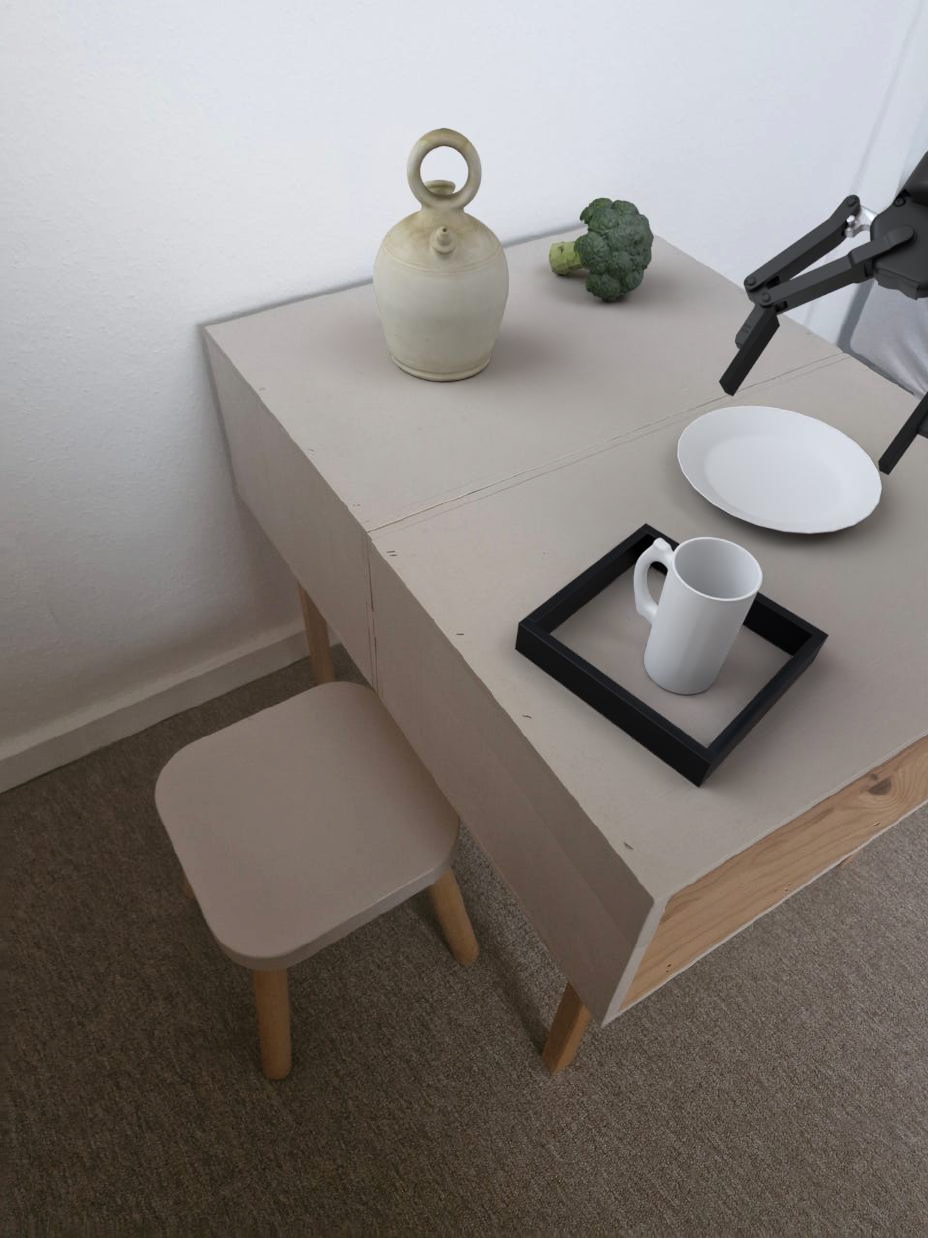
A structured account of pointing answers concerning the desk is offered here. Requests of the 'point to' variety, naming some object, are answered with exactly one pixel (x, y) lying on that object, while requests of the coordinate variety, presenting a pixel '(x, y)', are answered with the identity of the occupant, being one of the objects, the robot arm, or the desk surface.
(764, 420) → the plate
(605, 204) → the vegetable
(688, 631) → the mug
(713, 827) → the desk surface
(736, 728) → the black square frame
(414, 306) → the jug
